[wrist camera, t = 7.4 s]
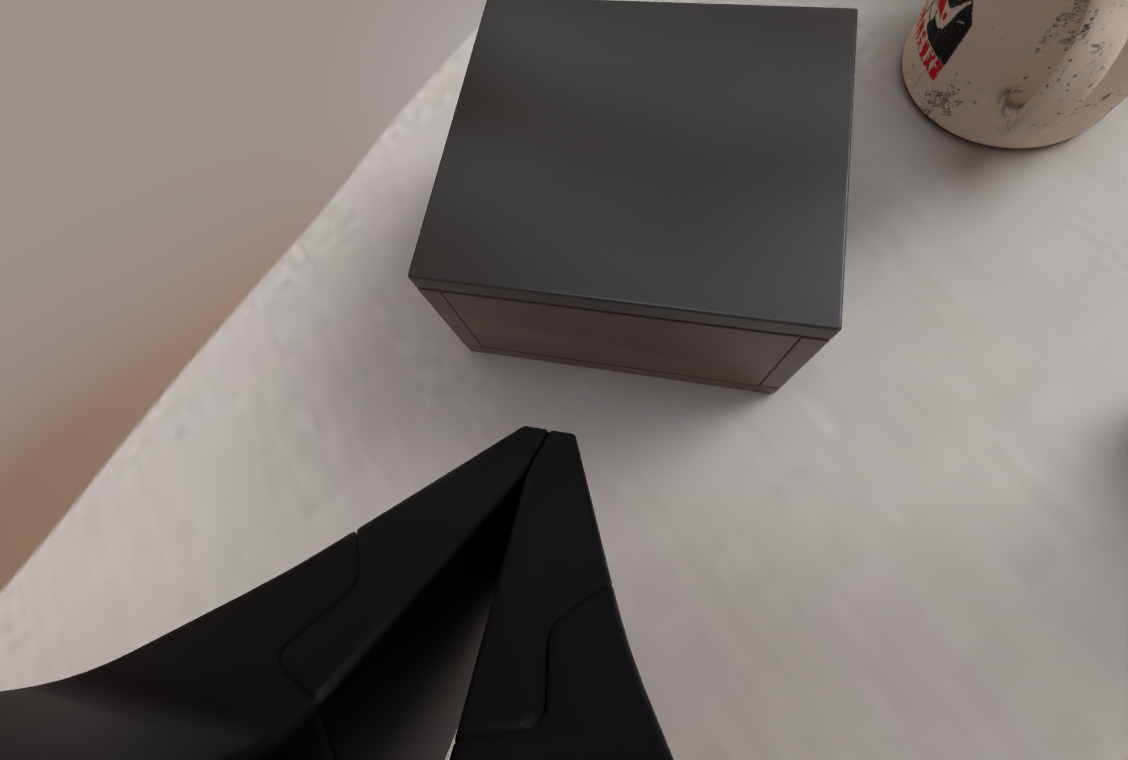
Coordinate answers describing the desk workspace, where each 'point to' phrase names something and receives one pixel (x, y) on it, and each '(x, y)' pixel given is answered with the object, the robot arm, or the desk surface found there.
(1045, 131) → the teacup with lid
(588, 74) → the dark grey flat tile
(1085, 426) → the desk surface
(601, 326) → the wooden box
